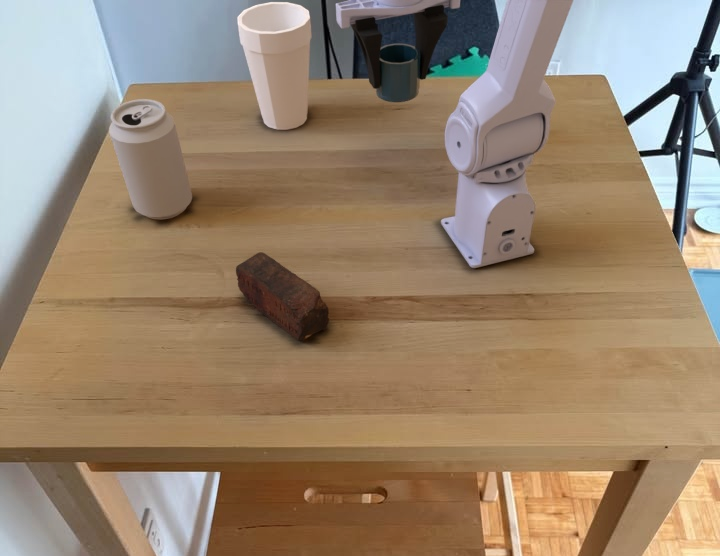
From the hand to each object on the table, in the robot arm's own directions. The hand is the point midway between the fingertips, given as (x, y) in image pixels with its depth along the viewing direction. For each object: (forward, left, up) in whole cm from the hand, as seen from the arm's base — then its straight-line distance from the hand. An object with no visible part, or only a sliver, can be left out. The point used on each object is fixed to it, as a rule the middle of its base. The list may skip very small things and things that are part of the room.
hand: (397, 80), depth 88 cm
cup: (0, 0, -1) cm, 1 cm away
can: (-1, +32, -10) cm, 33 cm away
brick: (-26, +23, -10) cm, 36 cm away
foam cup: (+14, +12, -10) cm, 21 cm away
